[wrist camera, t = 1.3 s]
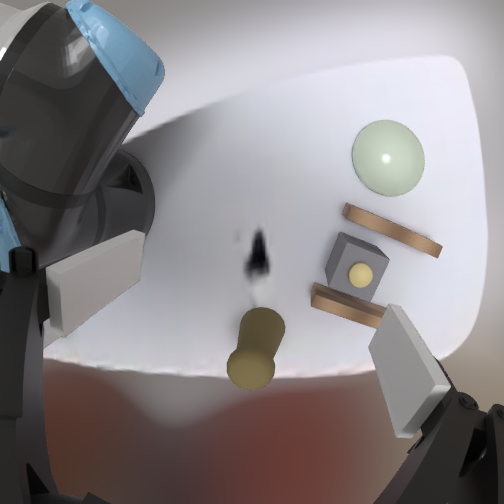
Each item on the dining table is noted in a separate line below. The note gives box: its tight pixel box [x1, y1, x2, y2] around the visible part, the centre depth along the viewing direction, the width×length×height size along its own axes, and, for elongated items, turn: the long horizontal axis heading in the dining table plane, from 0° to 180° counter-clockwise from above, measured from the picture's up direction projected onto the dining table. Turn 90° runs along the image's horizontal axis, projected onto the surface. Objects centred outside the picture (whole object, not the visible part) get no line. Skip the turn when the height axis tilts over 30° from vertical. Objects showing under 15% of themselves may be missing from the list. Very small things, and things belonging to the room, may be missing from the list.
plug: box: [325, 232, 390, 302], centre depth 31 cm, size 5×5×7 cm
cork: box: [227, 307, 285, 390], centre depth 34 cm, size 6×6×11 cm
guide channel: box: [311, 203, 443, 329], centre depth 32 cm, size 12×12×4 cm
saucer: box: [352, 120, 425, 196], centre depth 30 cm, size 9×9×1 cm
